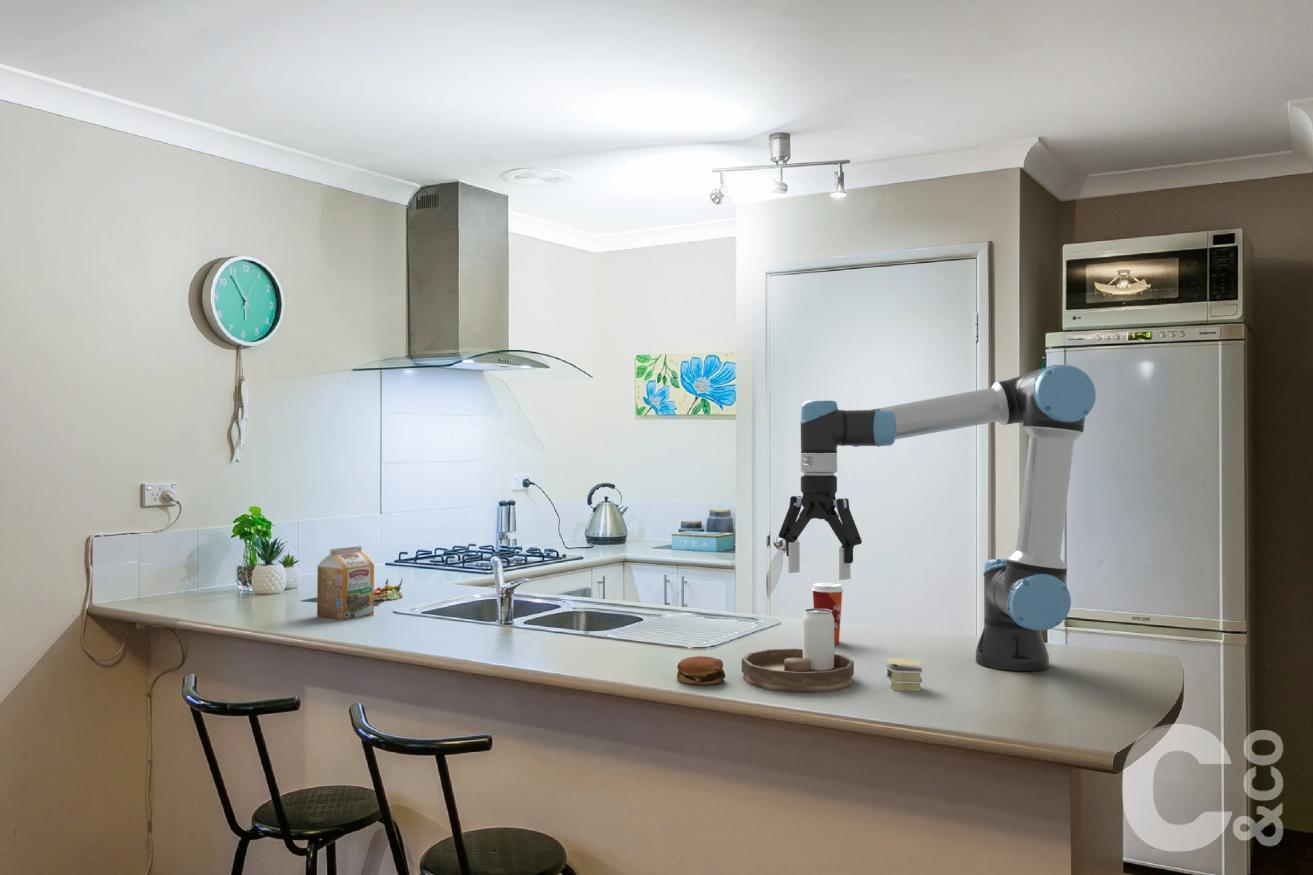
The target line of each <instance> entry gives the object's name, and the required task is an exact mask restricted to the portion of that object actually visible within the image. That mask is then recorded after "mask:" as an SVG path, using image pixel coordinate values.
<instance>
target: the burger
mask: <svg viewBox="0 0 1313 875" xmlns="http://www.w3.org/2000/svg"><path fill="white" fill-rule="evenodd" d="M723 668H724V663H723V660H722V659H720V658H715V657H712V656H702V655H699V656H691V657H685V658H683V659H682V660H680V661H679V662H678V663H677V674H676V680H677V681H678V682H679V683H681V684H684V685H694V684H695V686H696V685H700V686H705V685H707V686H708V685H714V684H718V683H722V682H723V681H724V679H726V672H725V671H724V669H723Z"/></svg>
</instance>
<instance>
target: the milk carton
mask: <svg viewBox="0 0 1313 875" xmlns="http://www.w3.org/2000/svg"><path fill="white" fill-rule="evenodd" d="M316 580H317V582H316V583H317V587H316V588H317V590H316V593H317V596H316V597H317V602H316V605H317V606H316V617H317V618H318V619H319V618H320V619H321V618H322V619H327V620H333V621H339V622H340V621H341V622H345V621H351V620H356V619H357V620H358V619H361V618H366V617H367V618H368V617H372V616H373V617H374V612H375V609H374V607H375V606H374V590H375V564H374V562H373V561H372V559H371V558H370V557H369V556H368V554H366V553H365V552H364V551H363V547H362V546H361V545H356V546H348V547H347V546H346V547H338V548H330V550H329V554H328V555H327V556H325V557H324V558H323V559H322V560H321V561H320V562H319V563H318V565H317V579H316Z"/></svg>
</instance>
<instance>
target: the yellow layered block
mask: <svg viewBox="0 0 1313 875" xmlns="http://www.w3.org/2000/svg"><path fill="white" fill-rule="evenodd" d="M885 660H886V661H887V662H888V663H889V664H886V665H885V666H884V667H885V668H886V669H887V673H886V675H885V678H886V679H887V680H888V681H889V682H891V690H893V691H911V692H920V691H921V684H923V679H922V677H921V674H922V673H923V668H922V667H921V666H923V663H922V660H919V659H909V658H902V657H900V658H899V657H889V658H885Z"/></svg>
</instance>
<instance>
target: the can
mask: <svg viewBox="0 0 1313 875" xmlns="http://www.w3.org/2000/svg"><path fill="white" fill-rule="evenodd" d="M802 649H803V658H805V659H809V660H811V671H830V670H832V669H833V668H834V653H835V644H834V617H833V615H832V611H831V610H828V609H818V608H814V607H813V608H806V609H805V613H804V614H803V618H802Z"/></svg>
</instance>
